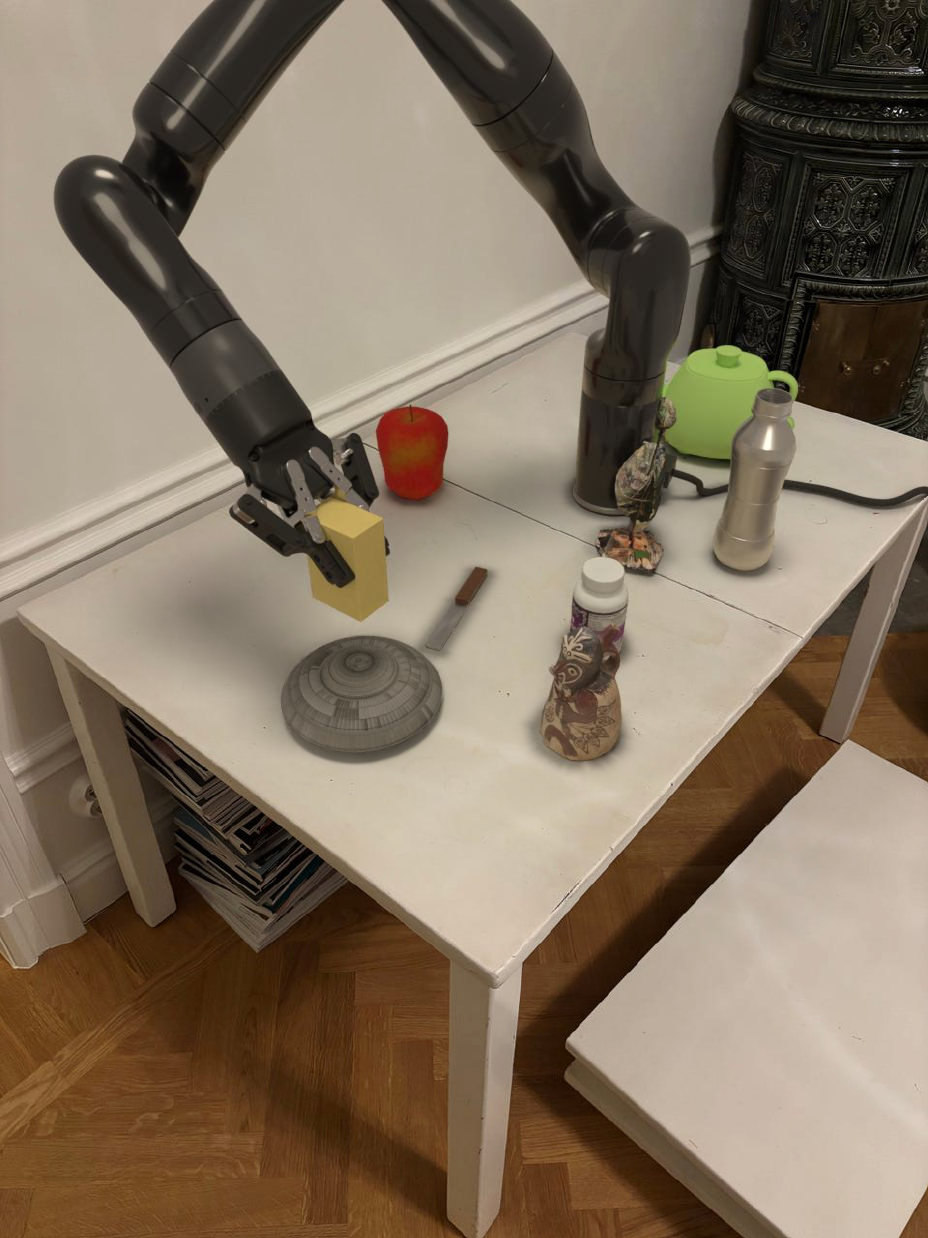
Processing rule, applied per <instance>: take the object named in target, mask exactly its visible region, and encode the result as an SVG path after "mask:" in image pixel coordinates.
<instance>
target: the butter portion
mask: <svg viewBox="0 0 928 1238" xmlns="http://www.w3.org/2000/svg"><path fill="white" fill-rule="evenodd" d="M316 506H317V517H318V519H319V521H320V524H321V526H322V528H323V530H324V533H325V535H326V542H327V541H329V540H331V541H332V542H333V544H334V545H335V547H336V548H337V550H338V551H339V552H340V554H341V555H342V557H343V558H344V559H345V561H346V562H347V564H348V565H349V567H350V568H351V569H352V571H353V572H354V574H355V579H354V580H353V581H351V582H350V583H349V584H347V585H346V586H344V587H342V588H338V587H337V586H336V585H335V584H334V585H332V584H330V583H329V582H328V581H327V580H326V579H325V577H324V575H323V574H322V573H321V571H320V570H319V569H318V567H317V566H316V565H315V563H314V562H313V560H312V559H311V558H310V556H309V555H307V554H306V557H307V564H308V571H309V580H310V586H311V593H312V598H313V599H315V600H317V601H319V602H321V603H323V604H325V605H327V606H328V607H331V608H333V609H335V610H336V611H338V612H340V613H342V614H344V615H346V616H348V617H349V618H352V619H353V620H355V621H357V622H359V623H362V622H364V621H365V620H366V619H367V618H369V617H370V616H371V615H372V614H374V613H375V612H376V611H378V610H379V609H380V608H382V607H383V606H384V605H386V604H387V603H388V602H389V601H390V599H389V597H390V596H389V585H388V583H389V582H388V569H387V557H386V552H385V538H384V535H385V525H384V524H385V523H384V517H382V516H379V515H377V514H374V513H373V512H370V511H369V512H368V511H366V510H363V509H361V508H359V507H357V506H354V505H352V504H350V503H347V502H344V501H343V500H341V499H340V500H338V499H334V498H331V497H330V498H328V499H326V500H325V501H323V502H322V503H320V502H319V504H316Z"/></svg>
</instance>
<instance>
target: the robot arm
mask: <svg viewBox="0 0 928 1238" xmlns="http://www.w3.org/2000/svg"><path fill="white" fill-rule="evenodd" d="M345 1H346V0H212V1H211V2H210V3H208V5H207V6H206V7H205V8H204V9H203V10H202V11H201V12H200V13H199V15H197V17H196V18H195V19H194V20H193V21H192V22H191V24H190V25H189V26H188V27H187V28H186V29H185V30H184V31H183V33H182V34H181V36H180V37H179V38H178V39H177V41H176V42H175V43H174V45H172V48H171V49H170V51H169V52H167V55H166V56H165V57H164V59H163V60H162V61H161V62H160V64H159V66H158V67H157V69H156V70H155V71H154V72H153V74H152V76H151V77H150V78H149V79H148V82H147V83H146V84H145V85H144V87H143V88H142V89H141V91H140V92H139V94H138V96H137V98H136V100H135V102H134V103H133V106H132V112H131V116H132V117H131V118H132V122H133V124H134V125H133V126H134V132H135V133H134V137H133V140H132V142H131V144H130V146H129V147H128V149H127V151H126V153H125V155H124V157H123V159H122V160H121V161H120V160H117V159H115V158H113V157H110V156H107V155H102V154H89V155H88V154H87V155H82V156H79V157H76V158H74V159H72V160H71V161H69V162H68V163H67V164H65V166H63V168H62V169H61V170H60V172H59V173H58V175H57V178H56V180H55V183H54V188H53V208H54V212H55V215H56V216H55V217H56V218H57V221H58V224H59V225H60V227H61V229H62V232H63V233H64V235H65V236H66V238H67V240H68V241H69V243H70V244H71V245H72V247H73V248H74V249H75V250H76V251H77V253H78V254H79V255H80V256H81V258H82V260H84V261H85V263H86V264H87V265H88V266H89V267H90V269H91V270H92V271H93V272H94V273H95V275H96V276H97V277H98V278H99V279H100V280H101V281H102V283H104V285H105V286H106V287H107V288H108V289H109V291H110V292H112V293H113V295H114V296H115V297H116V298H117V299H118V300H119V301H120V302H121V303H122V304H123V305H124V306H125V308H126V309H127V310H128V311H129V312H130V314H131V315H132V316H133V318H134V319H135V320H136V323H138V325H139V326H140V329H141V330H142V332H143V334H144V335H145V337H146V338H147V339H148V341H149V343H150V344H151V345H152V347H153V348H154V350H155V351H156V352H157V354H158V355H159V357H160V358H161V359H162V360H163V361H162V362H164V364H165V365H166V366H167V368H168V369H169V370H170V372H171V373H172V375H173V377H174V378H175V380H176V382H177V384H178V386H179V388H180V391H182V393H183V395H184V397H185V398H186V400H187V401H188V403H189V404H190V406H191V407H192V408H193V410H194V412H195V413H196V414H197V415H198V417H199V418H200V419H201V422H203V424H204V425H205V426H206V428H207V429H208V431H209V432H210V433H211V435H212V437H214V439H215V441H216V442H217V443H218V445H219V446H220V447H221V449H222V450H223V452H224V453H225V454H226V456H227V457H228V459H229V460H230V462H231V463H232V464H233V465H234V466H235V467H236V468H239V470H241V472H242V474H243V477H244V482H245V486H246V488H247V489H246V490H244V493H243V494H242V495H241V496H240V497H239V498H238V499H237V500H236V501H235V503H233V504H232V505H231V506H230V507H229V509H228V513H229V514H228V515H229V516H230V517H231V518H232V519H233V520H234V521H236V522H237V523H238V524H239V525H241V526H242V527H243V528H245V529H246V530H248V531H249V532H250V533H252V534H253V535H254V536H255V537H257V538H258V539H259V540H261V541H262V542H263V543H265V544H266V545H268V546H269V547H270V548H271V549H273V550H274V551H275V552H277V553H278V554H279V555H281V556H282V557H284V558H289V557H290V556H292V555H298V554H304V555H305V554H306V556H307V555H309V556H310V558H311V559H312V560H313V562H314V563H315V565H316V566H317V567H318V569H319V570H320V571H321V573H322V574H323V575H324V577H325V579H326V580H327V581H328V582H329V583H330V584H332V585H334V584H335V585H336V586H337V587H338V588H342V587H344V586H346V585H347V584H349V583H350V582H351V581H353V580H354V579H355V574H354V572H353V571H352V569H351V568H350V567H349V565H348V564H347V562H346V561H345V559H344V558H343V557H342V555H341V554H340V552H339V551H338V550H337V548H336V547H335V545H334V544H333V542H332V541H331V540H329V541H327V542H326V535H325V533H324V530H323V528H322V526H321V524H320V521H319V519H318V517H317V503H316V502H315V501H318V502H319V504H320V503H322V502H323V501H325V500H326V499H328V498H330V497H331V498H334V499H338V500H340V499H341V500H343V501H344V502H347V503H350V504H352V505H354V506H357V507H359V508H361V509H363V510H366V511H368V512H370V508H371V506H372V505H373V503H374V501H375V500H376V499H378V498H379V496H380V490H379V487H378V484H377V481H376V478H375V476H374V472H373V469H372V467H371V464H370V460H369V458H368V455H367V452H366V449H365V446H364V442H363V439H362V436H360V434H358V432H357V433H356V432H351V433H349V434H348V435H347V436H346V437H344V438H343V437H342V438H330V437H329V436H328V435H327V434H326V433H324V432H322V431H321V430H320V429H318V427H316V425H315V423H314V420H313V415H312V412H311V410H310V408H309V407H308V405H307V404H306V403H305V401H304V399H303V398H302V397H301V395H300V394H299V393H298V392H297V390H296V388H295V387H294V385H293V384H292V383H291V381H290V379H288V377H287V376H286V373H284V371H283V370H282V368H281V367H280V366H279V364H278V363H277V361H276V359H275V358H274V357H273V355H272V354H271V352H270V351H269V350H268V348H267V347H266V346H265V344H264V343H263V342H262V340H261V339H260V338H259V337H258V336H257V335H256V334H255V332H254V331H252V329H251V328H250V327H249V326H248V324H247V323H246V322H245V321H244V319H243V318H242V316H241V315H240V314H239V312H238V311H237V310H236V308H235V307H234V305H233V304H232V302H231V301H230V299H229V298H228V297H227V294H226V293H225V292H224V290H223V289H222V288H221V287H220V285H219V284H218V283H217V281H216V280H215V279H214V278H213V276H212V275H211V274H210V273H209V272H208V271H207V269H205V268H204V267H203V266H202V265H200V264H199V262H197V261H196V260H195V259H194V258H193V257H192V255H191V254H190V253H189V252H188V250H187V249H186V248H185V246H184V244H183V243H182V242H181V239H179V238H180V237H181V235H182V233H183V231H184V229H185V227H186V226H187V223H188V221H189V220H190V218H191V216H192V214H193V212H194V210H195V207H196V205H197V203H198V201H199V199H200V197H201V195H202V193H203V190H204V188H205V186H206V183H207V181H208V178H209V177H210V174H211V172H212V170H213V169H214V167H215V165H217V164H218V163H219V161H220V160H221V159H222V157H223V156H224V155H225V154H226V152H227V151H228V149H229V148H230V147H231V146H232V144H233V143H234V141H235V140H236V139H237V138H238V136H239V135H240V134H241V133H242V131H243V129H244V128H245V127H246V125H247V124H248V123H249V121H250V120H251V118H252V117H253V116H254V114H255V113H256V111H257V110H258V108H259V107H260V106H261V105H262V104H263V102H264V100H266V97H267V96H268V95H269V94H270V92H271V91H272V90H273V88H274V87H275V86H276V84H277V83H278V82H279V80H280V79H281V77H282V76H283V75H284V74H285V72H286V71H287V70H288V69H289V67H290V66H291V64H292V63H293V62H294V61H295V59H296V58H297V57H298V56H299V54H301V52H302V51H303V49H304V48H305V47H306V46H307V44H308V43H309V42H310V41H311V40H312V39H313V37H314V36H315V35H316V34H317V32H318V31H319V30H320V29H321V28H322V26H323V25H324V24H325V23H326V22H327V20H328V19H330V17H331V16H332V15H333V14H334V12H335V11H337V10H338V9H339V7H340V6H342V4H343V3H344V2H345ZM380 1H381V2H382V3H383V5H384V6H385V7H386V8H387V9H388V10H389V11H390V13H391V14H392V15H393V16H394V18H395V19H396V20H397V21H398V23H399V24H400V25H401V27H402V28H403V30H404V31H405V33H406V34H407V36H408V37H409V39H410V41H412V43H413V44H414V46H415V47H416V48H417V50H418V51H419V54H421V56H422V58H423V59H424V60H425V62H426V63H427V65H428V66H429V68H430V69H431V70H432V72H433V73H434V74H435V76H436V77H437V78H438V79H439V82H440V83H441V84H442V85H443V86H444V87H445V89H446V91H447V92H448V93H449V94H450V96H451V97H452V98H453V100H454V101H455V103H456V104H457V105H458V107H459V108H460V110H461V112H462V113H463V115H464V116H465V118H466V119H467V120H468V121H469V123H470V124H471V126H472V127H473V129H474V130H475V131H476V132H477V134H478V135H479V136H480V137H481V139H482V140H483V141H484V143H485V144H486V146H487V147H488V148H489V149H490V151H491V152H492V153H493V154H494V156H495V157H496V158H497V159H498V161H500V162H501V164H502V165H503V166H504V168H506V170H507V171H508V172H509V173H510V174H511V175H512V177H513V178H514V179H515V180H516V181H517V183H518V184H519V185H520V186H521V187H522V188H523V189H524V191H525V192H526V193H527V194H528V195H529V196H530V197H531V198H532V199H533V200H534V201H535V202H536V203H537V204H538V205H539V206H540V207H541V209H542V210H543V211H544V213H545V214H546V215H547V216H548V218H549V220H550V222H551V223H552V225H553V226H554V228H555V229H556V231H557V233H558V235H559V237H560V238H561V239H562V241H563V243H564V245H565V246H566V248H567V250H568V252H569V254H570V256H571V257H572V259H573V261H574V262H575V265H576V266H577V267H578V269H579V271H580V273H581V274H582V276H583V277H584V279H585V281H586V282H587V283H588V284H589V285H590V286H591V287H592V288H593V289H594V290H595V291H597V292H598V293H599V294H601V295H602V296H604V297H605V298H607V299H608V309H607V316H606V323H605V327H602V328H598V329H595V330H594V331H592V332H591V333H590V334H589V336H588V337H587V339H586V341H585V344H584V345H585V346H584V355H583V364H582V365H583V366H582V367H583V368H582V378H581V379H582V380H581V390H580V391H581V392H580V402H579V403H580V404H579V417H578V418H579V419H578V431H577V442H576V443H577V444H576V455H575V469H574V470H575V471H574V478H573V486H572V495H573V498H574V500H575V502H577V503H578V504H579V505H580V506H582V507H583V508H585V509H587V510H589V511H592V512H594V513H598V514H603V515H609V516H612V515H613V516H614V515H615V516H619V515H620V516H621V515H623V514H622V512H621V511H620V509H619V508H618V506H617V501H616V495H615V482H616V475H617V474H618V472H619V470H620V468H621V467H622V466H623V464H624V463H625V462H626V461H627V460H628V459H629V458H630V457H631V456H632V455H633V454H634V452H635V451H636V450H638V449H639V448H641V447H642V446H643V445H645V444H646V443H655V442H658V438H659V437H658V433H659V430H657V429H656V428H655V420H656V414H657V406H658V402H659V400H660V399H661V398H662V395H663V388H664V384H665V380H666V374H667V373H666V372H667V367H668V360H669V356H670V354H671V352H672V350H673V349H674V347H675V345H676V344H677V341H678V337H679V335H680V330H681V325H682V320H683V316H684V310H685V305H686V299H687V294H688V290H689V284H690V277H691V271H692V270H691V268H692V253H691V247H690V243H689V241H688V239H687V237H686V235H685V234H684V232H683V231H682V230H681V229H679V228H678V227H676V226H675V225H673V224H672V223H670V222H668V221H666V220H664V219H663V218H660V217H658V216H657V215H655V214H653V213H651V212H649V211H647V210H645V209H644V208H641V207H640V206H639V205H638V204H637V203H635V201H634V200H633V199H632V198H631V197H629V195H628V194H627V193H626V192H625V191H624V190H623V189H622V187H621V186H620V185H619V184H618V183H617V181H616V180H615V179H614V177H613V176H612V175H611V173H610V172H609V171H608V169H607V168H606V166H605V165H604V163H603V162H602V160H601V158H600V156H599V154H598V151H597V149H596V146H595V143H594V138H593V135H592V130H591V125H590V121H589V118H588V117H589V116H588V113H587V110H586V106H585V103H584V100H583V98H582V96H581V94H580V92H579V89H578V88H577V86H576V84H575V82H574V80H573V78H572V76H571V75H570V73H569V72H568V71H567V69H566V67H565V65H564V64H563V62H562V61H561V59H560V58H559V56H558V55H557V53H556V52H555V50H554V48H553V47H552V45H551V44H550V42H549V40H548V39H547V38H546V37H545V35H544V34H543V33H542V31H541V30H540V29H539V28H538V26H537V25H536V24H535V23H534V22H533V21H532V19H530V18H529V17H528V16H527V15H526V14H525V13H524V11H522V10H521V8H520V7H518V6H517V5H516V4H515V2H513V1H512V0H380ZM666 458H667V462H666V471H665V477H664V483H663V487H662V489H668V488H669V485H670V483H671V481H672V479H673V478H676V479H679V480H682V481H685V482H688V483H691V484H693V485H694V486H695V491H696V493H697V494H698V495H700V496H704V497H710V496H716V495H719V494H723V493H727V492H728V486H729V483H727V484H724V485H721V486H716V487H712V488H711V487H710V488H708V487H704V482H703V481H702V479H700V478H699V477H697V476H695V475H694V474H691V473H688V472H686V471H681V470H678V469H676V467H677V460H678V455H677V454H672V453H666ZM335 464H336V465H337V466H340V468H341V471H340V470H339V469H338V468H337V467H336V465H335ZM783 487H784V488H791V489H798V490H803V491H808V492H813V493H819V494H824V495H829V496H833V497H836V498H839V499H843V500H845V501H849V502H852V503H856V504H860V505H865V506H871V507H882V508H883V507H894V506H897V505H900V504H904V503H905V502H908V501H909V500H911V499H913V498H916V497H918V496H920V495H927V496H928V486H926V485H923V486H917V487H914V488H913V489H912V488H911V490H908V491H906V492H905V493H902V494H900V495H897V496H895V497H891V498H873V497H867V496H863V495H859V494H856V493H851V492H849V491H845V490H842V489H838V488H835V487H831V486H827V485H823V484H817V483H810V482H805V481H798V480H792V479H785V480H784V483H783V486H782V488H783ZM331 489H333V490H331ZM267 502H270V503H272V504H274V505H276V507H277V508H278V510H279V514H280V515H281V516H279V515H278V514H277V513H275V512H274V511H273V510H271V509H270V508H269V507H268V503H267ZM384 538H385V552H386V558H387V557H388V556H389V555H390V554H391V550H390V548H389V546H390V544H389V541H388V538H387V537H386V535H385V534H384Z"/></svg>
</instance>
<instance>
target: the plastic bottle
mask: <svg viewBox="0 0 928 1238" xmlns="http://www.w3.org/2000/svg"><path fill="white" fill-rule="evenodd" d="M792 403H793V396H792V395H791V394H790V393H789V391H786V390H784V389H781V388H776V387H774V388H764V389H761V390H758V391H757V392H756V395H755V399H754V403H753V404H752V408H751V412H752V413H753V415H751V416H750V417H749V418H747V419H746V420H745V421H744V422H743V423H742V424H741V425H740V426H739V427H738V428H737V429H736V431H735V433H734V435H733V437H732V441H731V460H730V463H729V465H730V466H729V467H730V468H729V469H730V470H729V478H728V484H729V486H728V491H727V492H726V497H725V501H724V503H723V504H724V505H723V508H722V511H721V515H720V518H719V519H718V522H717V524H716V526H715V530H714V532H713V535H712V538H713V539H712V549H713V553H714V555H715V556H716V558H717V560H718V561H719V562H720V563H721V564H723V565H724V566H726V567H728V568H731V569H733V570H738V571H745V572H747V571H754V570H755V571H756V570H757V569H760V568H761V567H762V566H763V565H765V564H766V563H767V562H769V560H770V558H771V555H772V554H773V551H774V548H775V539H776V537H775V536H776V533H775V532H776V531H775V525H776V519H777V518H776V517H777V511H778V503H779V499H780V496H781V492H782V489H783V487H782V486H783V483H784V480H786V477H787V475H788V472H789V470H790V468H791V465H792V462H793V460H794V457H795V454H796V451H797V439H796V436H795V434H794V431H793V430H792V428H791V427H790V425H789V423H788V421H787V419H789V418H790V417H792V408H793V404H794V403H793V404H792Z"/></svg>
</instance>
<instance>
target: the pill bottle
mask: <svg viewBox="0 0 928 1238" xmlns="http://www.w3.org/2000/svg"><path fill="white" fill-rule="evenodd" d="M629 596H630V595H629V589H628V586H627V585H626V583H625V567H624V566H623V564H622V563H619V562H618V561H616V560H614V559H611V558H607V557H601V556H596V557H592V558H590V559H588V560H586V561H585V562H584V563H583V565H582V569H581V577H580V578H579V580H577V582H576V583H575V585H574V587H573V591H572V600H571V611H570V612H571V614H570V628H569V633H570V632H571V631H573V630H574V629H576V628H578V627H582V626H586V627H589V628H591V629H592V630H593V631H594V632H595V633H596V635H598V634H599V633H601V632H602V631H603V630H604V629H605V628H606V627H608V626H609V625H610V624H611V623H613V624H614V625H615V626H616V627H618V628H619V629H620V632H619V633H618V634H617V635H616V636H615V638H614V639H613V640H612V641H611V642H612V643H613V644H614V646H615V647H616V649H617V650H618V653H620V651H621V649H622V646H623V641H624V635H625V634H624V633H625V626H626V619H627V613H628V604H629ZM608 658H609V656H606V657H604V658H603V660H602V661H606V660H607V659H608Z"/></svg>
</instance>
